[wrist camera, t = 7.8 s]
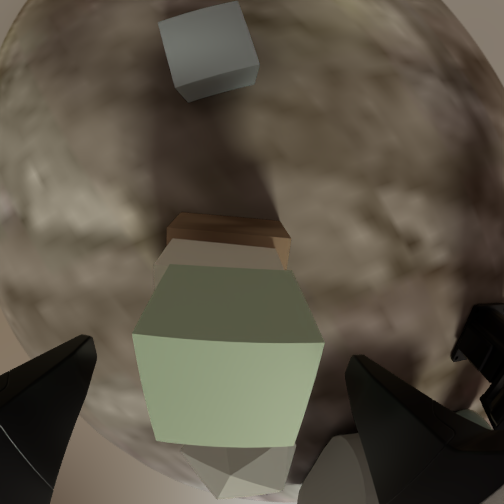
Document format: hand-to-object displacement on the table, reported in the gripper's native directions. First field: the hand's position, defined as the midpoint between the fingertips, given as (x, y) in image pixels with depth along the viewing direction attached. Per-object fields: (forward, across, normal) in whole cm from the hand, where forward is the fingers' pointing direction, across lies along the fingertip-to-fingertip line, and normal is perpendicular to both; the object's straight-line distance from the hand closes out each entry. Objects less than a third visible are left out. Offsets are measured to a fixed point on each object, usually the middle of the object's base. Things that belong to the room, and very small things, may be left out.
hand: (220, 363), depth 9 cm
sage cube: (+2, 0, 0) cm, 3 cm away
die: (+10, -2, +15) cm, 18 cm away
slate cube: (+10, +2, -12) cm, 16 cm away
